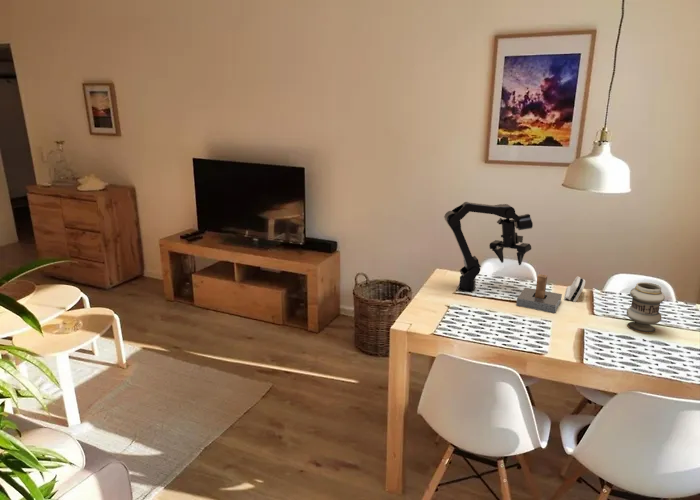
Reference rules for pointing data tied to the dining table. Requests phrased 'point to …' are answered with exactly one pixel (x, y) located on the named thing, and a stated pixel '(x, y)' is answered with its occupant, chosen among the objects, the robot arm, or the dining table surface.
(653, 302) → the apothecary jar
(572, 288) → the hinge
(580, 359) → the dining table surface
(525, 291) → the grey slotted block
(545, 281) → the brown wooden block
